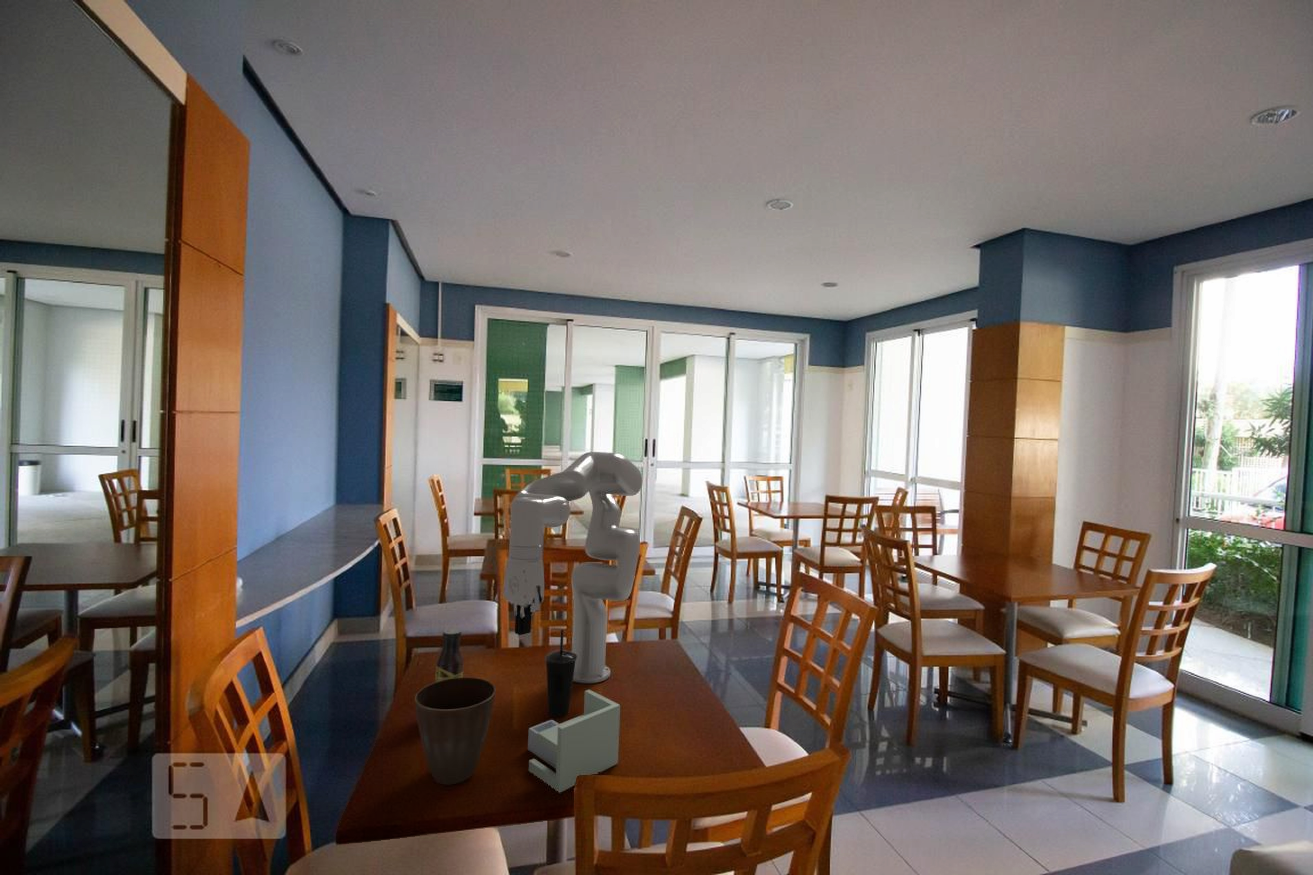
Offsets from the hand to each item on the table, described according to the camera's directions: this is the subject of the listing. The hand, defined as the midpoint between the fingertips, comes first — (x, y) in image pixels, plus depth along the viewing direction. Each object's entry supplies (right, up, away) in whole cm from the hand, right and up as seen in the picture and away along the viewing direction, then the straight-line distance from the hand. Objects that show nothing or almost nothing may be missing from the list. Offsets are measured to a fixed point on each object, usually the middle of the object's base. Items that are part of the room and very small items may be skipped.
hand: (522, 632), depth 132 cm
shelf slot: (+14, -23, -14) cm, 30 cm away
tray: (+10, -22, -11) cm, 27 cm away
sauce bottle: (-19, -22, +6) cm, 30 cm away
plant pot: (-10, -22, -18) cm, 30 cm away
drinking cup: (+7, -23, +9) cm, 25 cm away
